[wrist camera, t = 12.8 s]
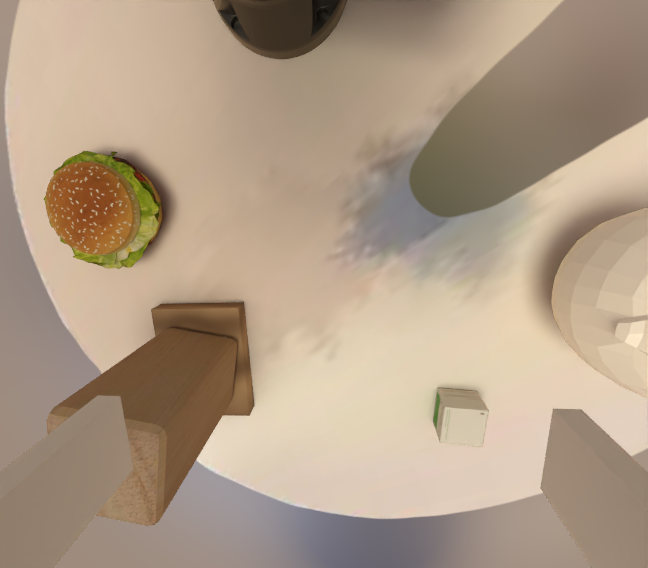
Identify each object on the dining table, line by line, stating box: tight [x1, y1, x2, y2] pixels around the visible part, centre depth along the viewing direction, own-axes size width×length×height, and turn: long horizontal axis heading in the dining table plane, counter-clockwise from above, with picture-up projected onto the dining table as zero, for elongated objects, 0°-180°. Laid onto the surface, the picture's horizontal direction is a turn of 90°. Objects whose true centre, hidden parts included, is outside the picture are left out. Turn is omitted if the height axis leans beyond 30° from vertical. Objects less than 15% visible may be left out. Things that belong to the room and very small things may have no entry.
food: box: [44, 151, 163, 269], centre depth 43 cm, size 14×14×8 cm
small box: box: [433, 388, 489, 447], centre depth 47 cm, size 6×6×5 cm
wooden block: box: [47, 328, 237, 526], centre depth 39 cm, size 10×10×20 cm
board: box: [151, 303, 254, 416], centre depth 50 cm, size 16×12×3 cm
